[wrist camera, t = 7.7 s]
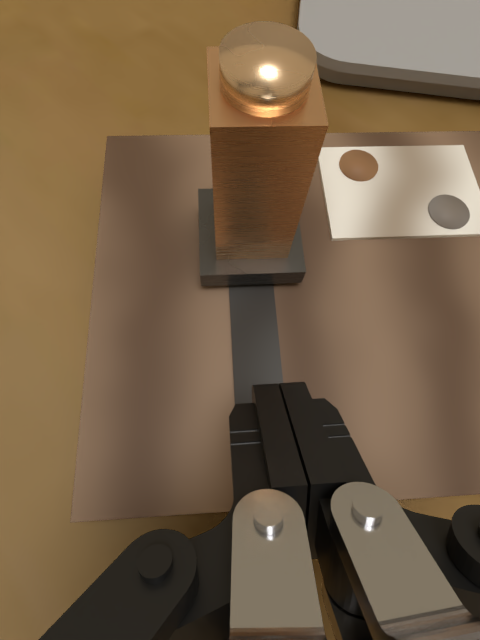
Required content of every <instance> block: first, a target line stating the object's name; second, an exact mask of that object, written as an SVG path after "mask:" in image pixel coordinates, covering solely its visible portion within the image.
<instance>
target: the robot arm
mask: <svg viewBox="0 0 480 640" xmlns="http://www.w3.org/2000/svg"><path fill="white" fill-rule="evenodd" d="M229 430H230V451H231V469H232V484H233V505H232V507H231V510H230V512H229V513H228V515H227V516H226V518H225V519H224V520H223V521H222V522H221V523H220V524H219V525H217V526H216V527H214V528H213V529H211V530H209V531H207V532H205V533H202V534H200V535H198V536H195V537H193V538H191V539H188V538H187V537H186V536H185V535H183V534H182V533H180V532H178V531H174V530H170V529H159V530H154V531H151V532H148V533H146V534H144V535H142V536H140V537H139V538H137V539H136V540H135V541H133V542H132V543H131V544H130V545H129V546H128V547H127V548H126V549H125V550H124V551H123V552H122V553H121V554H120V556H119V557H118V558H117V559H116V560H115V561H114V562H113V563H112V564H111V565H110V566H109V567H108V568H107V569H106V570H105V571H104V572H103V573H102V574H101V575H100V576H99V577H98V578H97V579H96V581H95V582H94V583H93V584H92V585H91V586H90V587H89V588H88V589H87V590H86V591H85V592H84V593H83V594H82V595H81V596H80V597H79V598H78V599H77V600H76V601H75V602H74V603H73V604H72V606H71V607H70V608H69V609H68V610H67V611H66V612H65V613H64V614H63V615H62V616H61V617H60V618H59V619H58V620H57V621H56V622H55V623H54V624H53V625H52V626H51V627H50V628H49V629H48V631H47V632H46V633H45V634H44V635H43V636H42V637H41V638H40V639H39V640H327V639H326V636H325V632H324V627H323V622H322V616H321V610H320V605H319V599H318V593H317V587H316V582H315V576H314V570H313V564H312V559H318V561H319V564H320V568H321V572H322V576H323V578H322V588H321V591H322V598H323V602H324V605H325V608H326V611H327V614H328V617H329V620H330V623H331V627H332V630H333V633H334V636H335V639H336V640H480V505H466V506H463V507H461V508H459V509H458V510H457V511H456V512H455V513H454V515H453V517H452V520H447V519H443V518H438V517H433V516H428V515H424V514H419V513H415V512H412V511H409V510H406V509H404V508H402V507H401V506H400V505H399V503H398V502H397V501H396V500H395V498H394V497H393V496H392V495H390V494H389V493H388V492H387V491H385V490H383V489H382V488H380V487H378V486H376V484H375V483H374V481H373V479H372V477H371V475H370V473H369V471H368V469H367V467H366V465H365V463H364V461H363V459H362V457H361V455H360V453H359V451H358V449H357V447H356V445H355V443H354V441H353V439H352V437H350V433H349V431H348V429H347V427H346V426H345V424H344V421H343V419H342V417H341V415H340V413H339V411H338V409H337V408H336V407H334V406H333V405H332V404H331V403H330V402H329V401H327V400H326V399H325V398H317V399H312V397H311V395H310V393H309V390H308V388H307V385H306V383H305V382H289V383H279V384H277V383H275V384H259V385H252V403H242V404H235V406H234V408H233V410H232V412H231V413H230V415H229Z"/></svg>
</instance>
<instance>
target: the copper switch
mask: <svg viewBox="0 0 480 640" xmlns="http://www.w3.org/2000/svg"><path fill="white" fill-rule="evenodd" d="M316 60H317V54H316V50H315V47H314V45H313V43H312V42H311V41H310V39H309V38H308V37H307V36H306V35H304V34H303V33H302V32H300V31H299V30H297V29H295V28H293V27H291V26H288V25H285V24H282V23H277V22H269V21H258V22H251V23H247V24H243V25H241V26H238V27H236V28H234V29H233V30H231V31H230V32H229V33H228V34H227V35H226V36H225V37H224V38H223V40H222V41H221V44H220V47H207V67H208V94H209V120H210V142H211V162H212V182H213V188H210V189H198V208H199V257H200V280H201V286H225V285H253V284H281V283H302V280H303V278H304V276H305V273H306V267H305V260H304V252H303V245H302V238H301V231H300V223H299V220H300V216H301V213H302V210H303V207H304V203H305V200H306V197H307V194H308V190H309V187H310V184H311V181H312V177H313V174H314V171H315V168H316V164H317V161H318V158H319V155H320V152H321V148H322V145H323V142H324V139H325V135H326V132H327V129H328V121H327V115H326V110H325V105H324V100H323V95H322V89H321V84H320V79H319V74H318V69H317V63H316Z"/></svg>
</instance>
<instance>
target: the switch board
mask: <svg viewBox="0 0 480 640" xmlns="http://www.w3.org/2000/svg"><path fill="white" fill-rule="evenodd" d="M210 188H213V182H212V162H211V142H210V135H159V136H107V143H106V153H105V164H104V174H103V185H102V195H101V206H100V217H99V227H98V238H97V248H96V259H95V269H94V280H93V290H92V301H91V311H90V322H89V332H88V343H87V353H86V364H85V374H84V385H83V395H82V406H81V416H80V427H79V437H78V448H77V458H76V469H75V479H74V490H73V500H72V511H71V521H70V522H84V521H99V520H113V519H128V518H142V517H157V516H171V515H185V514H200V513H214V512H229V511H230V510H231V507H232V505H233V484H232V469H231V451H230V430H229V415H230V413H231V412H232V410H233V408H234V406H235V404H242V403H252V385H259V384H275V383H277V384H279V383H289V382H305V383H306V385H307V388H308V390H309V393H310V395H311V397H312V399H317V398H325V399H326V400H327V401H329V402H330V403H331V404H332V405H333V406H334V407H336V408H337V409H338V411H339V413H340V415H341V417H342V419H343V421H344V424H345V426H346V427H347V429H348V431H349V433H350V437H352V439H353V441H354V443H355V445H356V447H357V449H358V451H359V453H360V455H361V457H362V459H363V461H364V463H365V465H366V467H367V469H368V471H369V473H370V475H371V477H372V479H373V481H374V483H375V484H376V486H378V487H380V488H382V489H383V490H385V491H387V492H388V493H389V494H390V495H392V496H393V497H394V498H395V500H402V499H416V498H431V497H445V496H460V495H474V494H480V131H452V132H379V133H326V135H325V139H324V142H323V145H322V148H321V152H320V155H319V158H318V161H317V164H316V168H315V171H314V174H313V177H312V181H311V184H310V187H309V190H308V194H307V197H306V200H305V203H304V207H303V210H302V213H301V216H300V220H299V223H300V231H301V238H302V245H303V252H304V260H305V267H306V273H305V276H304V278H303V280H302V283H281V284H253V285H225V286H201V280H200V257H199V208H198V189H210Z"/></svg>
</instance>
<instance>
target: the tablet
mask: <svg viewBox="0 0 480 640" xmlns="http://www.w3.org/2000/svg"><path fill="white" fill-rule="evenodd" d="M297 30H299V31H300V32H302V33H303V34H304V35H306V36H307V37H308V38H309V39H310V41H311V42H312V43H313V45H314V47H315V50H316V54H317V60H316V63H317V69H318V74H319V77H320V78H322V79H324V80H326V81H329V82H332V83H337V84H345V85H353V86H362V87H370V88H379V89H387V90H396V91H404V92H413V93H421V94H430V95H438V96H447V97H455V98H464V99H472V100H480V0H300V5H299V16H298V26H297Z"/></svg>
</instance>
